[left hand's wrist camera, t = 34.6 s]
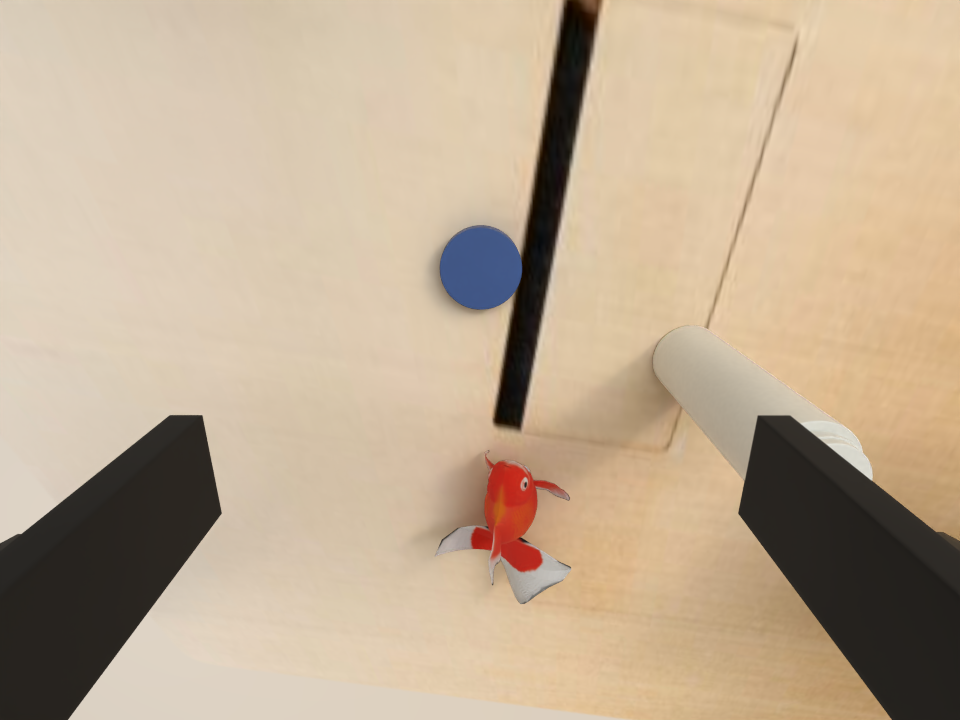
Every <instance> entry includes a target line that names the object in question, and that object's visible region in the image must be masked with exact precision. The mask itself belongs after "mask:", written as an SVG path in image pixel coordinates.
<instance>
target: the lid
mask: <svg viewBox="0 0 960 720" xmlns="http://www.w3.org/2000/svg"><path fill="white" fill-rule="evenodd" d="M521 274H522V263H521V258H520V255H519V252H518V250H517V248H516V246H515V244H514V243H513V241H512V240H511V239H510V238H509V237H508V236H507V235H506V234H505V233H504V232H502V231H500V230H499V229H496V228H494V227H490V226H484V225H478V226H472V227H468V228H466V229H463V230H462V231H460V232H458V233H457V234H456V235H454V236H453V237H452V239H451V240H450V241H449V242H448V244H447V246H446V247H445V249H444V252H443V254H442V257H441V262H440V275H441V280H442V283H443V285H444V287H445V289H446V291H447V292H448V294H449V295H450V296H451V297H452V298H453V299H454V300H455V301H457V302H458V303H460V304H461V305H463V306H466V307H468V308H472V309H490V308H494V307H496V306H499V305H500V304H502V303H504V302H505V301H506V300H508V299H509V298H510V297H511V296H512V295H513V293H514V292H515V290H516V289H517V287H518V285H519V282H520V279H521Z"/></svg>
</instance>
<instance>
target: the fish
mask: <svg viewBox="0 0 960 720" xmlns="http://www.w3.org/2000/svg"><path fill="white" fill-rule="evenodd" d="M488 452H489V450H488V451H486V452H485V461H486V464H487V466H488V469H489V471H490V472H489V474H488V480H489V483H488V486H487V491H488V492H487V494H486V497H485V518H486V521H487V525H488V527H486V526H477V525H474V526H466V527H461V528H457V529H456V530H455V531H453V532H452V533H451V534H449V535H448V536H446V537H445V538H444V539H442V541H441V543H440V545H439V548H438V550H437V552H436V555H435V556H438V555H440V554H443V553H447V552H451V551H456V550H463V549H485V550H489V551H491V554H490V557H489V560H488V561H489V572H490V577H491V581H492V585H493V575H494V568H495V565H496V564H497V563H499V562H500V560H501V561H502V563H503V565H504V567H505V570H506V573H507V576H508V579H509V582H510V585H511V587H512V590H513V592H514V595H515V597H516V599H517V600H518V602H519V603H520V604H525V603H527V602H528V601H530V600H531V599H532V598H534V597H535V596H536V595H538V594H539V593H541V592H542V591H544V590H545V589H547V588H548V587H550V586H552V585H555V584H557V583H559V582H561V581H563V579H564V578H565V577H566V576H567V574H568V573H569V572H570V570H571V567H570V566H567V565H565V564H563V563H561V562H559V561H557V560H556V559H554V558H553V557H551V556H550V555H548V554H547V553H545V552H543V551H542V550H540V549H539V548H537V547H535V546H534V545H532V544H530V543H529V542H527V541H526V540H524V539H522V538H520V537H521V536H522V535H524V534H525V532H526V531H527V530H528V528H529V527H530V526H531V524H532V522H533V520H534V517H535V514H536V510H537V491H536V489H545V490H548V491H549V492H551V493H552V494H554V495H555V496H558V497H560V498H564V499H566V500H568V501H569V499H570V497H569V495H568V494H567V493H566V492H565V491H564V490H562V489H560V488H559V487H558V486H557V485H555V484H553V483H550V482H547V481H542V480H533V478H532V476H531V473H530V469H529V468H527V467H526V466H523V465H521V464H519V463H517V462H516V461H511V460H503V461H499V462H498V463H497V464H495V465H493V464H492V463H491V462H490V461H489V460H488V459H487V457H486V454H487V453H488Z"/></svg>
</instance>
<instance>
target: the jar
mask: <svg viewBox="0 0 960 720" xmlns="http://www.w3.org/2000/svg"><path fill="white" fill-rule="evenodd" d="M653 369H654V372H655V374H656V376H657V378H658V379H659V380H660V382H661V383H662V384H663V385H664V386H665V388H666V389H667V390H668V391H669V392H670V393H671V395H672V396H673V397H674V398H675V399H676V401H677V402H678V403H679V404H680V405H681V407H682V408H683V409H684V410H685V411H686V412H687V414H688V415H689V416H690V417H691V418H692V420H693V421H694V422H695V423H696V424H697V426H698V427H699V428H700V429H701V430H702V431H703V433H704V434H705V435H706V436H707V437H708V439H709V440H710V441H711V442H712V443H713V445H714V446H715V447H716V448H717V449H718V451H719V452H720V453H721V454H722V455H723V456H724V458H725V459H726V460H727V461H728V462H729V464H730V465H731V466H732V467H733V468H734V470H735V471H736V472H737V473H738V474H739V475H740V477H741V478H742V479H743V480H744V481H745V477H746V472H747V467H748V462H749V457H750V452H751V447H752V442H753V437H754V432H755V427H756V421H757V416H758V415H790V416H792V417H793V418H794V419H795V420H797V421H798V422H799V423H800V424H802V425H803V426H804V427H805V428H807V429H808V430H809V431H810V432H812V433H813V434H814V435H815V436H817V437H818V438H819V439H820V440H822V441H823V442H824V443H825V444H827V445H828V446H829V447H830V448H832V449H833V450H834V451H835V452H837V453H838V454H839V455H840V456H842V457H843V458H844V459H845V460H847V461H848V462H849V463H850V464H852V465H853V466H854V467H855V468H857V469H858V470H859V471H860V472H862V473H863V474H864V475H865V476H867V477H868V478H869V479H870V480H872V477H873V473H872V467H871V464H870V462H869V460H868V458H867V457H866V455H865V454H864V453H863V450H862V446H861V444H860V442H859V440H858V438H857V437H856V436H855V434H854V433H853V432H852V431H850V430H849V429H848V428H846V427H845V426H844V425H842V424H841V423H839V422H838V421H837V420H835V419H834V418H832V417H831V416H830V415H828V414H827V413H825V412H824V411H823V410H821V409H820V408H818V407H817V406H816V405H814V404H813V403H811V402H810V401H809V400H807V399H806V398H804V397H803V396H801V395H800V394H799V393H797V392H796V391H794V390H793V389H792V388H790V387H789V386H787V385H786V384H785V383H783V382H782V381H780V380H779V379H778V378H776V377H775V376H773V375H772V374H771V373H769V372H768V371H766V370H765V369H763V368H762V367H761V366H759V365H758V364H756V363H755V362H754V361H752V360H751V359H749V358H748V357H747V356H745V355H744V354H742V353H741V352H740V351H738V350H737V349H735V348H734V347H733V346H731V345H730V344H728V343H727V342H726V341H724V340H723V339H721V338H720V337H718V336H717V335H716V334H714V333H713V332H711V331H710V330H708V329H706V328H704V327H701V326H695V325H688V326H683V327H679V328H677V329H674V330H673V331H671V332H669V333H668V334H667V335H665V336H664V337H663V338H662V340H661V341H660V342H659V343H658V345H657V347H656V349H655V352H654V355H653Z"/></svg>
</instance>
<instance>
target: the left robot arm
mask: <svg viewBox="0 0 960 720" xmlns="http://www.w3.org/2000/svg"><path fill="white" fill-rule="evenodd" d="M221 514H222V512H221V507H220V502H219V497H218V492H217V487H216V482H215V477H214V472H213V467H212V462H211V457H210V452H209V447H208V442H207V437H206V432H205V427H204V421H203V416H202V415H170V416H168V417H167V418H166V419H165V420H163V421H162V422H161V423H160V424H158V425H157V426H156V427H155V428H153V429H152V430H151V431H150V432H148V433H147V434H146V435H145V436H143V437H142V438H141V439H140V440H138V441H137V442H136V443H135V444H133V445H132V446H131V447H130V448H128V449H127V450H126V451H125V452H123V453H122V454H121V455H120V456H118V457H117V458H116V459H115V460H113V461H112V462H111V463H110V464H108V465H107V466H106V467H105V468H103V469H102V470H101V471H100V472H98V473H97V474H96V475H95V476H93V477H92V478H91V479H90V480H88V481H87V482H86V483H85V484H83V485H82V486H81V487H80V488H78V489H77V490H76V491H75V492H73V493H72V494H71V495H70V496H68V497H67V498H66V499H65V500H63V501H62V502H61V503H60V504H58V505H57V506H56V507H55V508H53V509H52V510H51V511H50V512H49V513H47V514H46V515H45V516H44V517H42V518H41V519H40V520H39V521H37V522H36V523H35V524H34V525H32V526H31V527H30V528H29V529H27V530H26V531H25V532H24V533H22V534H17V535H15V536H13V537H11V538H10V539H8V540H6V541H4V542H2V543H0V720H68V719H69V718H70V716H71V715H72V713H73V712H74V711H75V710H76V708H77V707H78V705H79V704H80V703H81V701H82V700H83V699H84V697H85V696H86V695H87V693H88V692H89V691H90V689H91V688H92V687H93V685H94V684H95V683H96V681H97V680H98V679H99V677H100V676H101V675H102V673H103V672H104V671H105V669H106V668H107V667H108V665H109V664H110V663H111V661H112V660H113V659H114V657H115V656H116V655H117V653H118V652H119V651H120V649H121V648H122V646H123V645H124V644H125V642H126V641H127V640H128V638H129V637H130V636H131V634H132V633H133V632H134V630H135V629H136V628H137V626H138V625H139V624H140V622H141V621H142V620H143V618H144V617H145V616H146V614H147V613H148V612H149V610H150V609H151V608H152V606H153V605H154V604H155V602H156V601H157V600H158V598H159V597H160V596H161V594H162V593H163V591H164V590H165V589H166V587H167V586H168V585H169V583H170V582H171V581H172V579H173V578H174V577H175V575H176V574H177V573H178V571H179V570H180V569H181V567H182V566H183V565H184V563H185V562H186V561H187V559H188V558H189V557H190V555H191V554H192V553H193V551H194V550H195V549H196V547H197V546H198V545H199V543H200V542H201V541H202V539H203V538H204V537H205V535H206V534H207V532H208V531H209V530H210V528H211V527H212V526H213V524H214V523H215V522H216V520H217V519H218V518H219V516H220V515H221ZM738 514H739V515H740V516H741V518H742V519H743V520H744V522H745V523H746V524H747V526H748V527H749V528H750V530H751V531H752V532H753V534H754V535H755V537H756V538H757V539H758V541H759V542H760V543H761V545H762V546H763V547H764V549H765V550H766V551H767V553H768V554H769V555H770V557H771V558H772V559H773V561H774V562H775V563H776V565H777V566H778V567H779V569H780V570H781V571H782V573H783V574H784V575H785V577H786V578H787V579H788V581H789V582H790V583H791V585H792V586H793V587H794V589H795V590H796V591H797V593H798V594H799V596H800V597H801V598H802V600H803V601H804V602H805V604H806V605H807V606H808V608H809V609H810V610H811V612H812V613H813V614H814V616H815V617H816V618H817V620H818V621H819V622H820V624H821V625H822V626H823V628H824V629H825V630H826V632H827V633H828V634H829V636H830V637H831V638H832V640H833V641H834V642H835V644H836V645H837V646H838V648H839V649H840V651H841V652H842V653H843V655H844V656H845V657H846V659H847V660H848V661H849V663H850V664H851V665H852V667H853V668H854V669H855V671H856V672H857V673H858V675H859V676H860V677H861V679H862V680H863V681H864V683H865V684H866V685H867V687H868V688H869V689H870V691H871V692H872V693H873V695H874V696H875V697H876V699H877V700H878V701H879V703H880V704H881V705H882V707H883V708H884V710H885V711H886V712H887V714H888V715H889V716H890V718H891V719H892V720H960V541H959V540H957V539H955V538H953V537H951V536H949V535H947V534H945V533H943V532H935V531H934V530H933V529H931V528H930V527H929V526H928V525H926V524H925V523H924V522H923V521H921V520H920V519H919V518H918V517H916V516H915V515H914V514H913V513H911V512H910V511H909V510H908V509H906V508H905V507H904V506H903V505H902V504H900V503H899V502H898V501H897V500H895V499H894V498H893V497H892V496H890V495H889V494H888V493H887V492H885V491H884V490H883V489H882V488H880V487H879V486H878V485H877V484H875V483H874V482H873V481H872V480H870V479H869V478H868V477H867V476H865V475H864V474H863V473H862V472H860V471H859V470H858V469H857V468H855V467H854V466H853V465H852V464H850V463H849V462H848V461H847V460H845V459H844V458H843V457H842V456H840V455H839V454H838V453H837V452H835V451H834V450H833V449H832V448H830V447H829V446H828V445H827V444H825V443H824V442H823V441H822V440H820V439H819V438H818V437H817V436H815V435H814V434H813V433H812V432H810V431H809V430H808V429H807V428H805V427H804V426H803V425H802V424H800V423H799V422H798V421H797V420H795V419H794V418H793V417H792V416H790V415H758V416H757V421H756V427H755V432H754V437H753V442H752V447H751V452H750V457H749V462H748V467H747V472H746V477H745V482H744V487H743V492H742V497H741V502H740V507H739V512H738Z"/></svg>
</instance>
